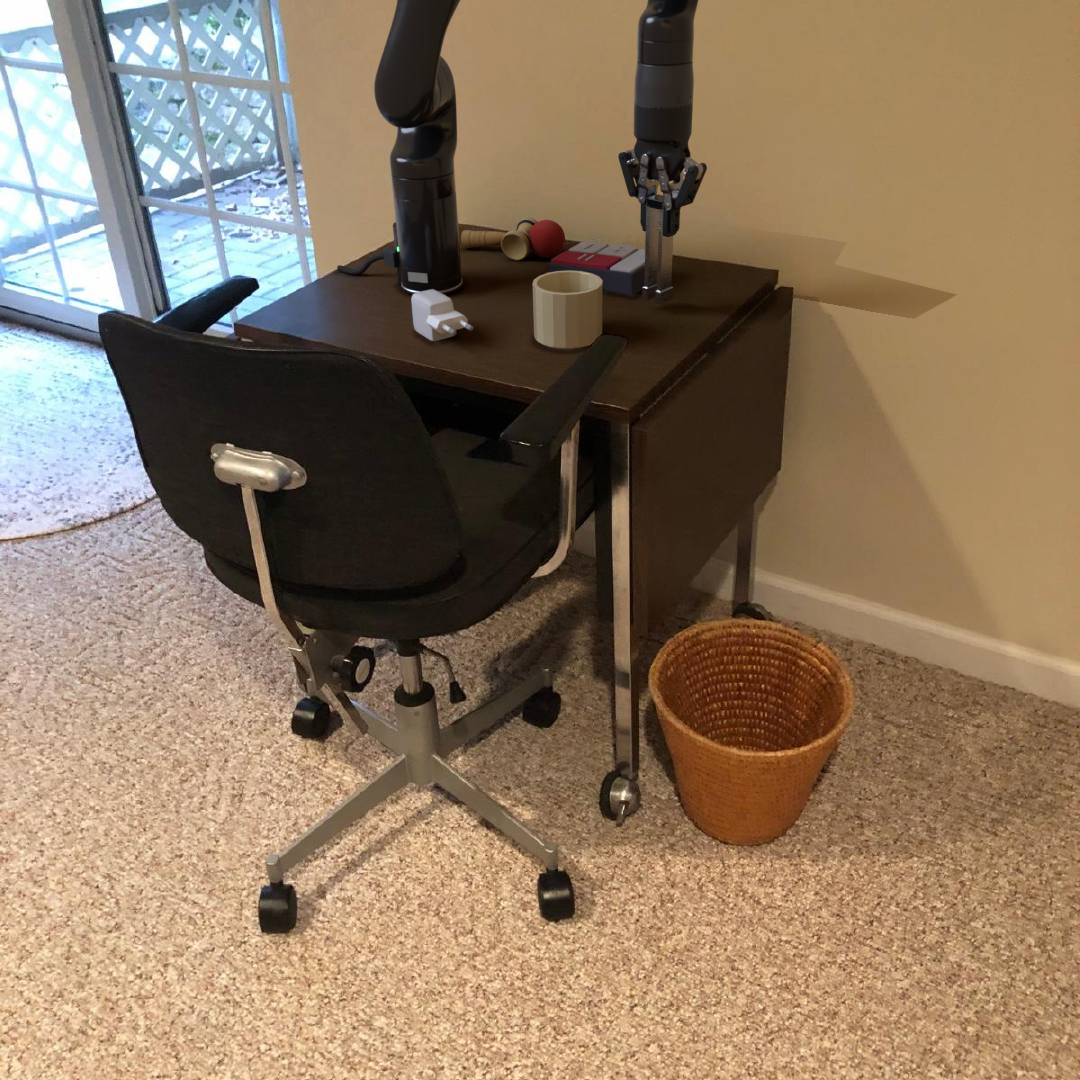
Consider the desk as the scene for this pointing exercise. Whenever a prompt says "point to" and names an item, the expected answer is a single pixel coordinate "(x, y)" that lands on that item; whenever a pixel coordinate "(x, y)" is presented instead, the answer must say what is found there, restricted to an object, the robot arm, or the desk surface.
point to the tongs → (657, 254)
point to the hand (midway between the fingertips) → (659, 232)
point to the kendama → (521, 239)
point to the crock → (567, 308)
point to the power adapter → (436, 315)
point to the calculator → (605, 265)
